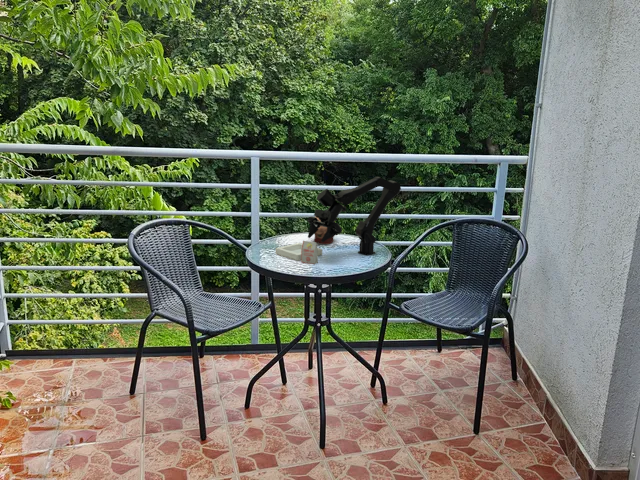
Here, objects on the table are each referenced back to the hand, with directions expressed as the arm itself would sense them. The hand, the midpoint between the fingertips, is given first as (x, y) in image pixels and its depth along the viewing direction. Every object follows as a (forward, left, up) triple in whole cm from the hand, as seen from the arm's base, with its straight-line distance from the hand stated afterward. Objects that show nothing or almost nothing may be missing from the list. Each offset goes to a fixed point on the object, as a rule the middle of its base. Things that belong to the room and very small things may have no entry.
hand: (315, 239), depth 260 cm
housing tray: (+13, -1, -10) cm, 17 cm away
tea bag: (0, +4, -11) cm, 11 cm away
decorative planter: (+23, -29, -11) cm, 38 cm away
